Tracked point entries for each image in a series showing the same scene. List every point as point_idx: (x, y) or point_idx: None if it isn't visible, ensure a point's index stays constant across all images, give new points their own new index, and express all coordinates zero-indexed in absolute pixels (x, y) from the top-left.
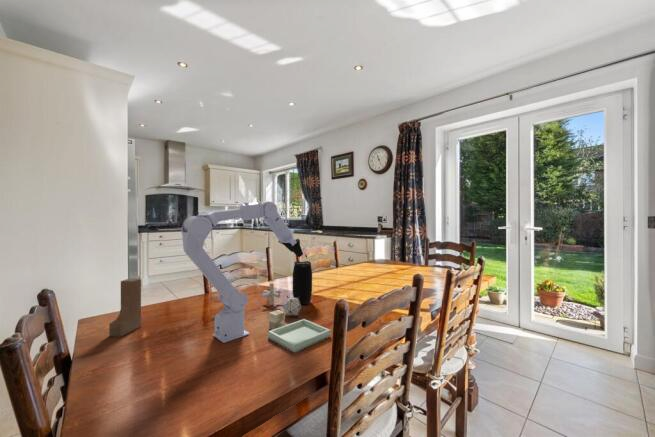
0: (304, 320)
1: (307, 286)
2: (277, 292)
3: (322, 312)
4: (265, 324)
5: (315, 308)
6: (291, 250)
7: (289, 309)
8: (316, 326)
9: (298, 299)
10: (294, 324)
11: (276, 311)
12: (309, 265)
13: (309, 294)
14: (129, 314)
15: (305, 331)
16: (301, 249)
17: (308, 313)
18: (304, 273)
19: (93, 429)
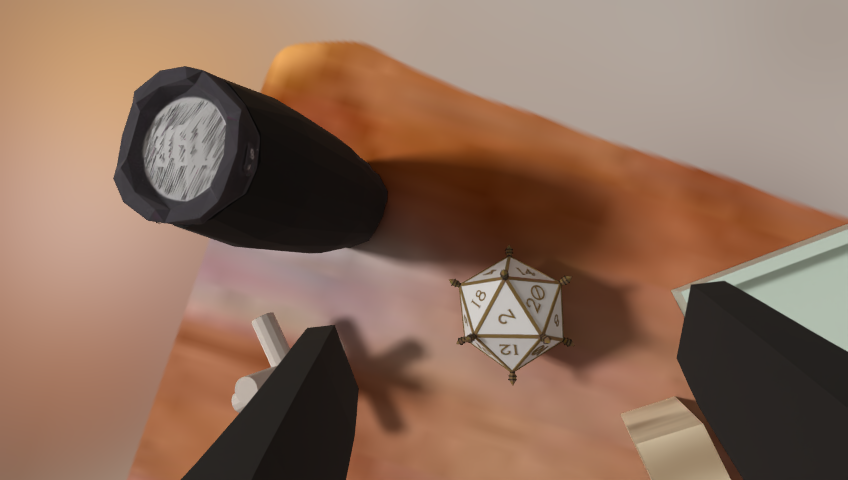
0: None
1: (348, 166)
2: (279, 335)
3: (521, 145)
4: (585, 469)
5: (451, 162)
6: (351, 410)
7: (556, 342)
8: (806, 257)
9: (516, 277)
10: None
11: (666, 464)
12: (242, 97)
13: (364, 163)
14: None
15: (794, 318)
16: (844, 350)
17: (510, 218)
18: (299, 167)
19: None
